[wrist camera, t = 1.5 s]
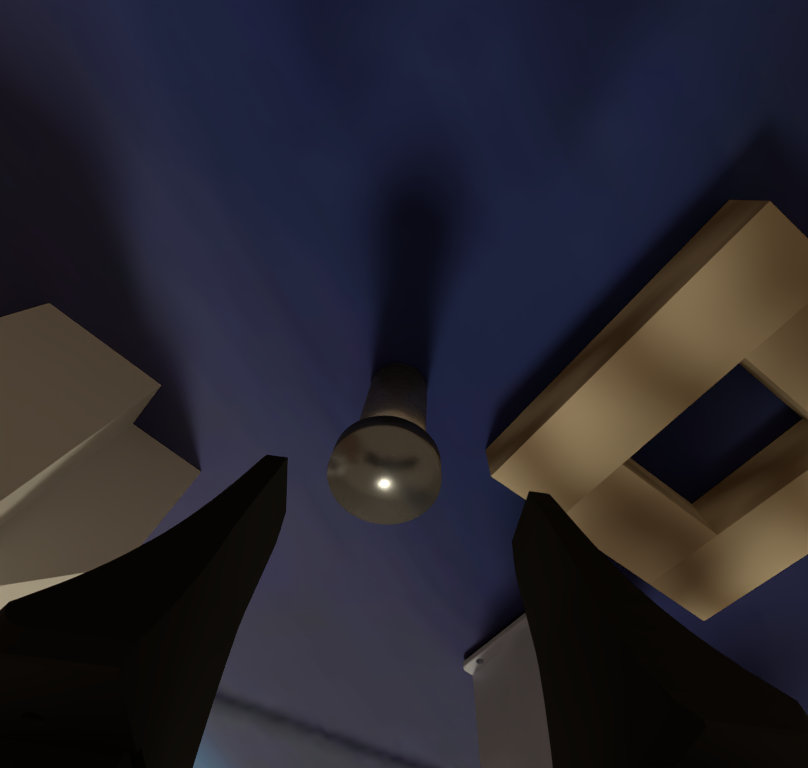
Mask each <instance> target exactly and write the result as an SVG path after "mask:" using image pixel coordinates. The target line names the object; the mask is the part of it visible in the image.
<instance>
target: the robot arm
mask: <svg viewBox="0 0 808 768" xmlns="http://www.w3.org/2000/svg"><path fill="white" fill-rule="evenodd" d="M287 463H288V458H286V457H279V456H272V455H266V456H265V457H263V458H262V459H261V460H260V461H259V462H257V463H256V464H255V465H254V466H253V467H252V468H251V469H249V470H248V471H247V472H246V473H245V474H244V475H242V476H241V477H240V478H239V479H238V480H237V481H235V482H234V483H233V484H232V485H230V486H229V487H228V488H227V489H225V490H224V491H223V492H222V493H221V494H219V495H218V496H217V497H215V498H214V499H213V500H212V501H210V502H209V503H207V504H206V505H205V506H203V507H202V508H201V509H199V510H198V511H196V512H195V513H194V514H192V515H191V516H189V517H188V518H186V519H185V520H183V521H182V522H180V523H179V524H177V525H176V526H174V527H173V528H171V529H169V530H168V531H166V532H165V533H163V534H161V535H160V536H158V537H156V538H154V539H153V540H151V541H149V542H147V543H145V544H143V545H141V546H139V547H137V548H135V549H134V550H132V551H130V552H128V553H126V554H124V555H122V556H120V557H118V558H116V559H114V560H112V561H110V562H108V563H106V564H103V565H101V566H99V567H97V568H95V569H92V570H90V571H88V572H85V573H83V574H81V575H78V576H76V577H74V578H71V579H69V580H66V581H64V582H61V583H59V584H56V585H53V586H51V587H48V588H45V589H42V590H40V591H37V592H34V593H32V594H29V595H26V596H24V597H21V598H18V599H15V600H12V601H9V602H8V603H7V604H6V605H5V606H4V607H3V608H2V609H1V610H0V768H193V765H194V762H195V758H196V755H197V752H198V748H199V745H200V742H201V739H202V736H203V733H204V729H205V726H206V723H207V720H208V717H209V714H210V710H211V707H212V704H213V701H214V698H215V695H216V692H217V689H218V686H219V683H220V680H221V677H222V674H223V671H224V668H225V665H226V662H227V659H228V656H229V653H230V650H231V647H232V644H233V642H234V639H235V636H236V633H237V630H238V627H239V625H240V623H241V620H242V618H243V615H244V613H245V610H246V608H247V606H248V604H249V602H250V600H251V597H252V595H253V593H254V591H255V589H256V586H257V584H258V582H259V580H260V578H261V575H262V573H263V571H264V569H265V567H266V564H267V562H268V560H269V558H270V555H271V553H272V551H273V549H274V546H275V544H276V542H277V538H278V535H279V532H280V529H281V526H282V523H283V519H284V516H285V513H286V495H287ZM512 546H513V556H514V564H515V571H516V577H517V581H518V585H519V589H520V593H521V597H522V601H523V605H524V609H525V613H524V614H523V615H522V616H520V617H519V618H518V619H517V620H515V621H514V622H513V623H512V624H510V625H509V626H508V627H506V628H505V629H504V630H503V631H501V632H500V633H499V634H498V635H496V636H495V637H494V638H493V639H491V640H490V641H489V642H488V643H486V644H485V645H484V646H482V647H481V648H480V649H479V650H477V651H476V652H475V653H474V654H472V655H471V656H470V657H469V658H467V659H466V660H465V661H464V662H463V668H464V670H465V671H466V672H468V673H470V674H471V675H473V684H474V696H475V708H476V720H477V731H478V743H479V755H480V765H481V768H808V715H807V714H806V712H805V711H804V710H803V708H802V707H801V705H800V704H799V703H798V701H796V700H795V699H793V698H791V697H790V696H788V695H786V694H785V693H783V692H781V691H780V690H778V689H777V688H775V687H773V686H772V685H770V684H768V683H767V682H765V681H763V680H762V679H760V678H758V677H757V676H755V675H754V674H752V673H750V672H749V671H747V670H745V669H744V668H742V667H741V666H739V665H738V664H736V663H735V662H733V661H732V660H730V659H729V658H727V657H726V656H725V655H723V654H722V653H720V652H719V651H717V650H716V649H714V648H713V647H711V646H710V645H709V644H707V643H706V642H704V641H703V640H702V639H700V638H699V637H697V636H696V635H695V634H693V633H692V632H691V631H689V630H688V629H687V628H686V627H684V626H683V625H682V624H680V623H679V622H678V621H676V620H675V619H674V618H673V617H671V616H670V615H669V614H668V613H666V612H665V611H664V610H663V609H661V608H660V607H659V606H658V605H657V604H655V603H654V602H653V601H652V600H651V599H650V598H649V597H647V596H646V595H645V594H644V593H643V592H642V591H641V590H639V589H638V588H637V587H636V586H635V585H634V584H633V583H632V582H631V581H630V580H629V579H627V578H626V577H625V576H624V575H623V574H622V573H621V572H620V571H619V570H618V569H617V568H616V567H615V566H614V565H613V564H612V563H611V562H610V561H609V560H608V559H607V558H606V557H605V556H604V555H603V553H602V552H601V551H600V550H599V549H598V548H597V547H596V546H595V545H594V544H593V543H592V542H591V541H590V539H589V538H588V537H587V536H586V535H585V534H584V533H583V532H582V530H581V529H580V528H579V527H578V526H577V525H576V524H575V522H574V521H573V520H572V519H571V518H570V517H569V516H568V514H567V513H566V512H565V511H564V510H563V509H562V507H561V506H560V505H559V504H558V503H557V502H556V501H555V500H554V498H553V497H552V496H551V495H550V494H547V493H540V492H533V491H529V492H528V495H527V498H526V501H525V504H524V507H523V510H522V513H521V516H520V519H519V522H518V525H517V528H516V531H515V534H514V537H513V540H512Z"/></svg>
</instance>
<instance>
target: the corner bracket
mask: <svg viewBox="0 0 808 768" xmlns="http://www.w3.org/2000/svg"><path fill="white" fill-rule="evenodd" d="M160 386H161V385H160V384H159V383H158V382H156V381H155V380H153V379H152V378H151V377H149V376H148V375H147V374H145V373H144V372H143V371H141V370H140V369H139V368H137V367H136V366H134V365H133V364H132V363H130V362H129V361H128V360H126V359H125V358H124V357H122V356H121V355H119V354H118V353H117V352H115V351H114V350H113V349H111V348H110V347H109V346H107V345H106V344H104V343H103V342H102V341H100V340H99V339H98V338H96V337H95V336H94V335H92V334H91V333H90V332H88V331H87V330H85V329H84V328H83V327H81V326H80V325H79V324H77V323H76V322H75V321H73V320H72V319H70V318H69V317H68V316H66V315H65V314H64V313H62V312H61V311H60V310H58V309H57V308H55V307H54V306H53V305H51V304H50V303H47V304H44V305H41V306H37V307H34V308H30V309H27V310H24V311H20V312H17V313H13V314H10V315H7V316H3V317H0V610H1V609H2V608H3V607H4V606H5V605H6V604H7V603H8V602H9V601H12V600H15V599H18V598H21V597H24V596H26V595H29V594H32V593H34V592H37V591H40V590H42V589H45V588H48V587H51V586H53V585H56V584H59V583H61V582H64V581H66V580H69V579H71V578H74V577H76V576H78V575H81V574H83V573H85V572H88V571H90V570H92V569H95V568H97V567H99V566H101V565H103V564H106V563H108V562H110V561H112V560H114V559H116V558H118V557H120V556H122V555H124V554H126V553H128V552H130V551H132V550H134V549H135V548H137V547H139V546H141V545H142V544H143V542H144V541H145V540H146V539H147V538H148V536H149V535H150V534H151V533H152V531H153V530H154V529H155V528H156V527H157V525H158V524H159V523H160V522H161V520H162V519H163V518H164V517H165V516H166V514H167V513H168V512H169V511H170V509H171V508H172V507H173V506H174V505H175V503H176V502H177V501H178V500H179V498H180V497H181V496H182V495H183V494H184V492H185V491H186V490H187V489H188V487H189V486H190V485H191V484H192V483H193V481H194V480H195V479H196V478H197V476H198V475H199V474H200V473H201V471H199V470H198V469H197V468H195V467H194V466H192V465H191V464H189V463H188V462H187V461H185V460H184V459H182V458H181V457H179V456H178V455H177V454H175V453H174V452H172V451H171V450H169V449H168V448H167V447H165V446H164V445H162V444H161V443H159V442H158V441H157V440H155V439H154V438H152V437H151V436H149V435H148V434H147V433H145V432H144V431H142V430H141V429H139V428H138V427H137V426H135V425H134V424H133V423H134V421H135V420H136V419H137V417H138V416H139V415H140V413H141V412H142V411H143V409H144V408H145V407H146V405H147V404H148V403H149V401H150V400H151V399H152V397H153V396H154V395H155V393H156V392H157V391H158V389H159V388H160Z"/></svg>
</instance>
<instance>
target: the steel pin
mask: <svg viewBox="0 0 808 768" xmlns="http://www.w3.org/2000/svg"><path fill="white" fill-rule="evenodd" d="M426 411H427V385H426V382H425V379H424V377H423V376H422V374H421V373H420V372H419V371H418V370H417V369H415V368H414V367H412V366H410V365H407V364H403V363H393V364H389V365H386V366H384V367H382V368H381V369H380V370H378V371H377V373H376V374H375V375H374V377H373V379H372V382H371V385H370V388H369V391H368V395H367V398H366V401H365V404H364V407H363V411H362V414H361V417H360V420H359V421H358V422H356V423H354V424H352V425H351V426H350V427H348V428H347V429H346V430H345V431H344V432H343V433H342V434H341V436H340V437H339V439H338V440H337V442H336V445H335V447H334V450H333V452H332V455H331V458H330V461H329V464H328V470H327V479H328V484H329V487H330V490H331V492H332V494H333V496H334V497H335V499H336V500H337V502H338V503H339V504H340V505H341V506H342V507H343V508H344V509H345V510H347V511H348V512H349V513H351V514H352V515H354V516H356V517H358V518H360V519H363V520H365V521H368V522H372V523H377V524H398V523H403V522H407V521H409V520H412V519H414V518H416V517H418V516H420V515H421V514H423V513H424V512H426V511H427V510H428V509H429V508H430V507H431V506H432V504H433V503H434V502H435V500H436V498H437V496H438V494H439V491H440V488H441V458H440V454H439V450H438V448H437V446H436V444H435V442H434V440H433V439H432V438H431V436H430V435H429V434H428V433H427V432H426Z"/></svg>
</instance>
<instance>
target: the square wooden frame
mask: <svg viewBox="0 0 808 768" xmlns="http://www.w3.org/2000/svg"><path fill="white" fill-rule="evenodd" d="M738 363H739V364H740V365H742V366H743V367H744V368H745V369H746V370H747V371H749V372H750V373H751V374H752V375H753V376H754V377H755V378H757V379H758V380H759V381H760V382H761V383H762V384H764V385H765V386H766V387H767V388H768V389H769V390H770V391H772V392H773V393H774V394H775V395H776V396H777V397H778V398H780V399H781V400H782V401H783V402H784V403H785V404H787V405H788V406H789V407H790V408H791V409H792V410H793V411H795V412H796V413H797V414H798V415H799V416H800V417H802V418H803V419H802V420H800V421H799V422H798V423H797V424H795V425H794V426H793V427H791V428H790V429H789V430H787V431H786V432H785V433H784V434H782V435H781V436H780V437H778V438H777V439H776V440H774V441H773V442H772V443H771V444H769V445H768V446H767V447H765V448H764V449H763V450H761V451H760V452H759V453H758V454H756V455H755V456H754V457H752V458H751V459H750V460H748V461H747V462H746V463H745V464H743V465H742V466H741V467H739V468H738V469H737V470H735V471H734V472H733V473H732V474H730V475H729V476H728V477H726V478H725V479H724V480H722V481H721V482H720V483H719V484H717V485H716V486H715V487H713V488H712V489H711V490H709V491H708V492H707V493H706V494H704V495H703V496H702V497H700V498H699V499H698V500H696V501H695V502H694V503H693V504H691V503H690V502H688V501H687V500H686V499H684V498H683V497H682V496H680V495H679V494H678V493H676V492H675V491H674V490H672V489H671V488H670V487H668V486H667V485H666V484H664V483H663V482H662V481H660V480H659V479H658V478H656V477H655V476H654V475H652V474H651V473H650V472H648V471H647V470H646V469H644V468H643V467H642V466H640V465H639V464H638V463H636V462H635V461H634V460H632V459H631V458H630V457H631V456H632V455H633V454H635V453H636V452H637V451H638V450H639V449H640V448H641V447H643V446H644V445H645V444H646V443H647V442H648V441H650V440H651V439H652V438H653V437H654V436H655V435H657V434H658V433H659V432H660V431H661V430H662V429H663V428H665V427H666V426H667V425H668V424H669V423H670V422H672V421H673V420H674V419H675V418H676V417H677V416H678V415H680V414H681V413H682V412H683V411H684V410H685V409H687V408H688V407H689V406H690V405H691V404H692V403H693V402H695V401H696V400H697V399H698V398H699V397H700V396H702V395H703V394H704V393H705V392H706V391H707V390H708V389H710V388H711V387H712V386H713V385H714V384H715V383H717V382H718V381H719V380H720V379H721V378H722V377H723V376H725V375H726V374H727V373H728V372H729V371H730V370H732V369H733V368H734V367H735V366H736V365H737V364H738ZM486 454H487V459H488V464H489V469H490V474H491V477H493V478H494V479H496V480H497V481H499V482H500V483H502V484H503V485H505V486H506V487H508V488H509V489H510V490H512V491H513V492H515V493H516V494H518V495H519V496H521V497H522V498H524V499H525V500H526V498H527V495H528V492H529V491H533V492H540V493H547V494H550V495H551V496H552V497H553V498H554V500H555V501H556V502H557V503H558V504H559V505H560V506H561V507H562V509H563V510H564V511H565V512H566V513H567V514H568V516H569V517H570V518H571V519H572V520H573V521H574V522H575V524H576V525H577V526H578V527H579V528H580V529H581V530H582V532H583V533H584V534H585V535H586V536H587V537H588V538H589V539H590V541H591V542H592V543H593V544H594V545H595V546H596V547H597V548H598V549H599V550H600V551H602V552H603V553H605V554H606V555H607V556H609V557H610V558H612V559H613V560H615V561H616V562H618V563H619V564H621V565H622V566H624V567H625V568H627V569H628V570H630V571H631V572H632V573H634V574H635V575H637V576H638V577H640V578H641V579H643V580H644V581H646V582H647V583H649V584H650V585H652V586H653V587H655V588H656V589H657V590H659V591H660V592H662V593H663V594H665V595H666V596H668V597H669V598H671V599H672V600H674V601H675V602H677V603H678V604H679V605H681V606H682V607H684V608H685V609H687V610H688V611H690V612H691V613H693V614H694V615H696V616H697V617H699V618H700V619H702V620H703V621H705V620H707V619H708V618H710V617H711V616H713V615H714V614H716V613H717V612H719V611H721V610H722V609H724V608H725V607H727V606H728V605H730V604H731V603H733V602H734V601H736V600H737V599H739V598H741V597H742V596H744V595H745V594H747V593H748V592H750V591H751V590H753V589H754V588H756V587H758V586H759V585H761V584H762V583H764V582H765V581H767V580H768V579H770V578H771V577H773V576H774V575H776V574H778V573H779V572H781V571H782V570H784V569H785V568H787V567H788V566H790V565H791V564H793V563H795V562H796V561H798V560H799V559H801V558H802V557H804V556H805V555H807V554H808V238H807V237H806V236H805V235H804V234H803V233H802V232H801V231H800V230H799V229H798V228H797V227H796V226H795V225H794V224H793V223H792V222H791V221H790V220H789V219H788V218H787V217H786V216H785V215H784V214H783V213H782V212H781V211H780V210H779V209H778V208H777V207H776V206H775V205H774V204H773V203H772V202H771V201H757V200H729V201H728V202H727V203H726V204H725V205H724V206H723V207H722V208H721V209H720V210H719V211H718V212H717V213H716V214H715V215H714V216H713V217H712V218H711V219H710V220H709V221H708V222H707V223H706V224H705V225H704V226H703V227H702V228H701V229H700V230H699V231H698V232H697V233H696V234H695V236H694V237H693V238H692V239H691V240H690V241H689V242H688V243H687V244H686V245H685V246H684V247H683V248H682V249H681V250H680V251H679V252H678V253H677V254H676V255H675V256H674V257H673V258H672V259H671V260H670V261H669V262H668V263H667V264H666V265H665V266H664V267H663V268H662V269H661V270H660V271H659V272H658V273H657V275H656V276H655V277H654V278H653V279H652V280H651V281H650V282H649V283H648V284H647V285H646V286H645V287H644V288H643V289H642V290H641V291H640V292H639V293H638V294H637V295H636V296H635V297H634V298H633V299H632V300H631V301H630V302H629V303H628V304H627V305H626V306H625V307H624V308H623V309H622V310H621V311H620V312H619V313H618V315H617V316H616V317H615V318H614V319H613V320H612V321H611V322H610V323H609V324H608V325H607V326H606V327H605V328H604V329H603V330H602V331H601V332H600V333H599V334H598V335H597V336H596V337H595V338H594V339H593V340H592V341H591V342H590V343H589V344H588V345H587V346H586V347H585V348H584V349H583V350H582V351H581V352H580V354H579V355H578V356H577V357H576V358H575V359H574V360H573V361H572V362H571V363H570V364H569V365H568V366H567V367H566V368H565V369H564V370H563V371H562V372H561V373H560V374H559V375H558V376H557V377H556V378H555V379H554V380H553V381H552V382H551V383H550V384H549V385H548V386H547V387H546V388H545V389H544V390H543V391H542V392H541V394H540V395H539V396H538V397H537V398H536V399H535V400H534V401H533V402H532V403H531V404H530V405H529V406H528V407H527V408H526V409H525V410H524V411H523V412H522V413H521V414H520V415H519V416H518V417H517V418H516V419H515V420H514V421H513V422H512V423H511V424H510V425H509V426H508V427H507V428H506V429H505V430H504V431H503V432H502V434H501V435H500V436H499V437H498V438H497V439H496V440H495V441H494V442H493V443H492V444H491V445H490V446H489V447H488V448H487V449H486Z"/></svg>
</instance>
